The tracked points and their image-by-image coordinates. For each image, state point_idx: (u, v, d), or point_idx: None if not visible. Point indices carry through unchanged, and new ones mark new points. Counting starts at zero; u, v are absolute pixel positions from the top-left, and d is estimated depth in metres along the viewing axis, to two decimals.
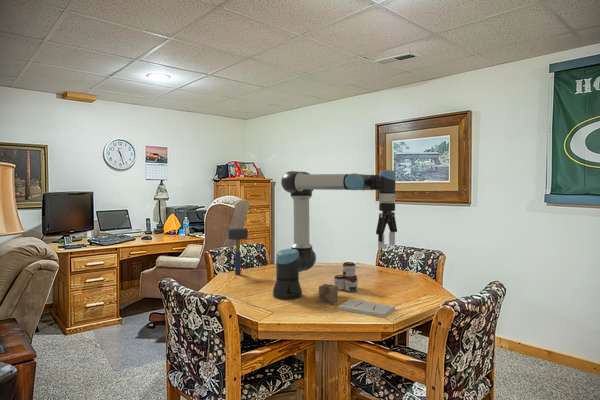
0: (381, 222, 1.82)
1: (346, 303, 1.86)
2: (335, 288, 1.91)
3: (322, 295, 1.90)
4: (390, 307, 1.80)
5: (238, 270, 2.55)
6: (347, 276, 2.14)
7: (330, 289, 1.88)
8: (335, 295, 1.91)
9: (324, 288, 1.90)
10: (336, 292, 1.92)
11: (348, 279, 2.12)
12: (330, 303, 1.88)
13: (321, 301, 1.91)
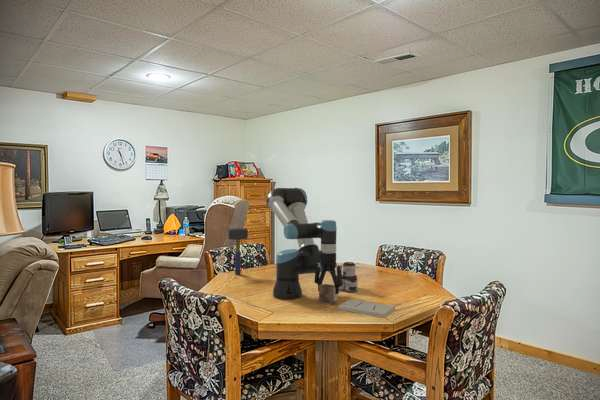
0: None
1: (346, 303, 1.86)
2: None
3: (322, 295, 1.90)
4: (390, 307, 1.80)
5: (238, 270, 2.55)
6: (347, 276, 2.14)
7: (330, 289, 1.88)
8: None
9: (324, 288, 1.90)
10: None
11: (348, 279, 2.12)
12: (330, 303, 1.88)
13: (321, 301, 1.91)
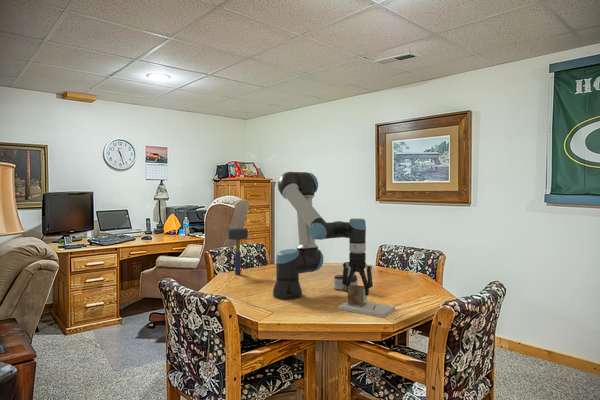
0: None
1: (346, 303, 1.86)
2: None
3: (351, 297, 1.82)
4: (390, 307, 1.80)
5: (238, 270, 2.55)
6: (347, 276, 2.14)
7: (360, 290, 1.80)
8: None
9: (353, 289, 1.82)
10: None
11: None
12: (359, 305, 1.80)
13: (350, 303, 1.83)
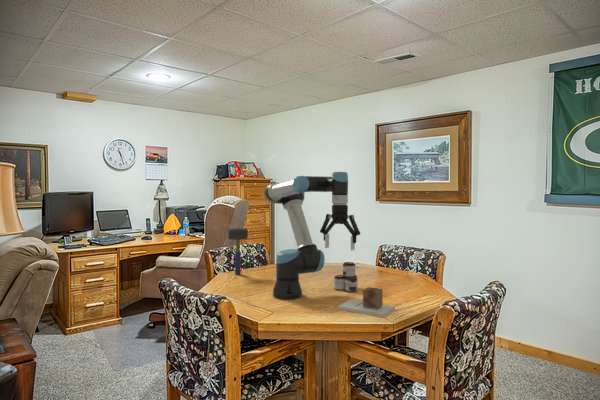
0: None
1: (346, 303, 1.86)
2: (380, 291, 1.79)
3: (367, 299, 1.78)
4: (390, 307, 1.80)
5: (238, 270, 2.55)
6: (347, 276, 2.14)
7: (376, 293, 1.76)
8: (380, 299, 1.79)
9: (369, 292, 1.78)
10: (381, 296, 1.80)
11: (348, 279, 2.12)
12: (375, 308, 1.76)
13: (365, 305, 1.79)
